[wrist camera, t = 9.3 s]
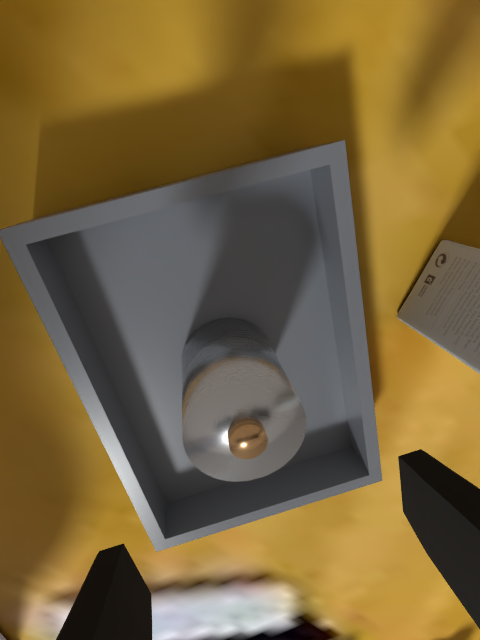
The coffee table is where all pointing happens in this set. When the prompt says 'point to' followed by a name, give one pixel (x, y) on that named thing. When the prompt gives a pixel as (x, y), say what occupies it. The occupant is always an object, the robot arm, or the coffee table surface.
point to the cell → (237, 403)
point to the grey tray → (202, 307)
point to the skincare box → (448, 302)
